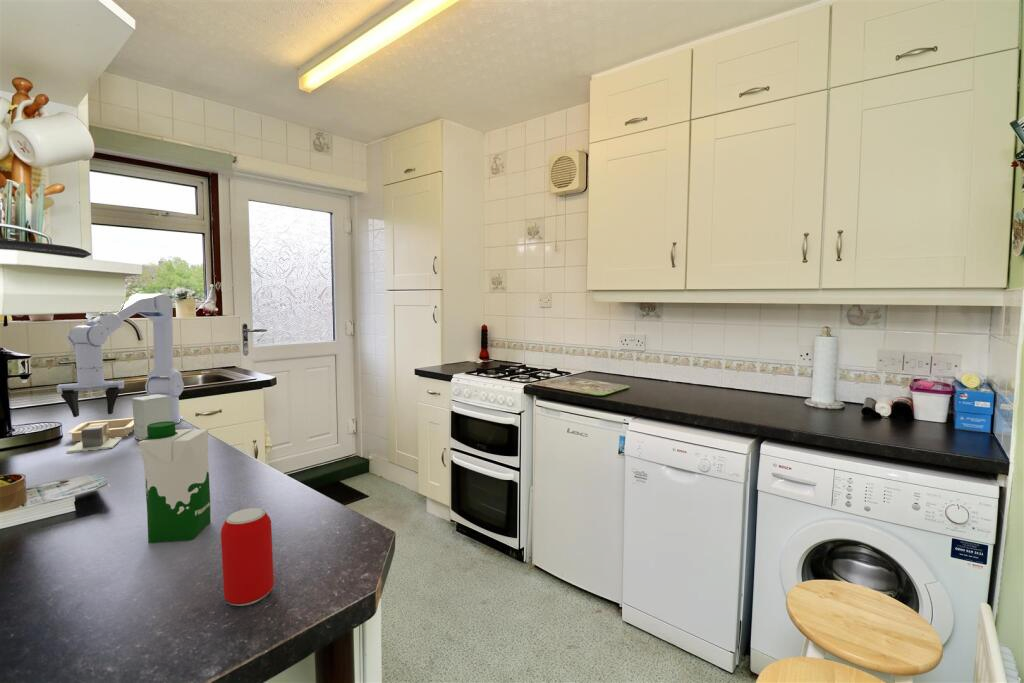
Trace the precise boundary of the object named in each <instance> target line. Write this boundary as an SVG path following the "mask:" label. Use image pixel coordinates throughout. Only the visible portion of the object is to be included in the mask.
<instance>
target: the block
mask: <svg viewBox="0 0 1024 683" xmlns="http://www.w3.org/2000/svg"><path fill="white" fill-rule="evenodd" d="M81 432H82V445H83V448H88V447H98V446H102V445H103V444H104V443H105V442H106V441H108V440H109V425H108V422H107V423H96V424H90V425H89V426H87V427H86V428H84V429H83V430H81Z"/></svg>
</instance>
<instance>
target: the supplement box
mask: <svg viewBox="0 0 1024 683" xmlns="http://www.w3.org/2000/svg"><path fill="white" fill-rule="evenodd" d="M131 403H132V415H133V416H132V418H133V419H134V439H135V438H136V439H135V440H138V439H139V440H138V441H141V440H143V439H145V438H146V437H147V436H148V433H147V426H148V425H149V424H152V423H157V422H166V421H171V411H170V396H165V395H160V394H156V395H149V394H148V395H145V396H144V395H143V396H137V397H132V398H131Z"/></svg>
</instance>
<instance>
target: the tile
mask: <svg viewBox="0 0 1024 683" xmlns="http://www.w3.org/2000/svg"><path fill="white" fill-rule="evenodd" d="M122 440H123V437H121V438H111V439H109V440H108V441H106V442H105V443H104V444H103V445H102V446H98V447H88V448H83V445H82V441H80V442H76V444H74V445H73V446H71V447H70V448H69V449H68V450H66V454H70V453H69V452H74V453H80V452H79V451H83V452H89V451H88V450H93V451H99V450H98V449H102V450H108V449H107V448H112V449H114V448H115V447H116V446H117V445H118V444H119V443H120V442H122ZM119 441H120V442H119ZM118 442H119V443H118ZM117 443H118V444H117ZM116 444H117V445H116ZM115 445H116V446H115ZM114 446H115V447H114ZM113 447H114V448H113Z"/></svg>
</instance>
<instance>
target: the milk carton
mask: <svg viewBox="0 0 1024 683" xmlns="http://www.w3.org/2000/svg"><path fill="white" fill-rule="evenodd" d="M147 433H148V436H147V437H146V438H145V439H143V440H142V441H141V440H139V441H138V443H137V444H138V447H139V450H140V454H141V457H142V461H143V467H144V468H143V469H144V481H145V482H144V483H145V499H146V516H147V522H146V523H147V543H148V544H154V543H155V544H156V543H168V542H181V541H182V542H183V541H184V542H186V541H193V540H195V538H196V537H197V536H199V534H200V533H202V532H203V530H205V528H207V526H209V525H210V523H211V491H210V490H211V488H210V487H211V486H210V471H209V448H208V447H209V429H208V428H205V429H204V428H202V429H201V428H200V429H199V428H198V429H194V428H186V429H176V423H175V422H172V421H166V422H157V423H152V424H149V425H148V426H147Z"/></svg>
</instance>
